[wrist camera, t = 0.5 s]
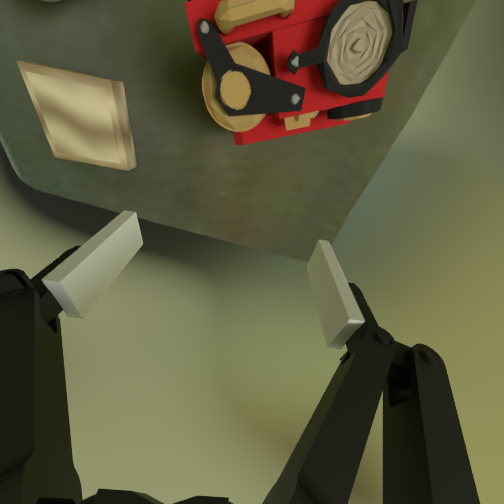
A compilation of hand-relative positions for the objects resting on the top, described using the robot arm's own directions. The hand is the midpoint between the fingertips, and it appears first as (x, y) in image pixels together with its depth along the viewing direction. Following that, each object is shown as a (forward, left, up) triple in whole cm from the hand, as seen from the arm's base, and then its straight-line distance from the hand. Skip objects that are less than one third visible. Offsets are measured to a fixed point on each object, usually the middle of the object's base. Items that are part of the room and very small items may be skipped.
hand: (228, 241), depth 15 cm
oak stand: (-1, -26, -26) cm, 36 cm away
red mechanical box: (-11, +3, -26) cm, 28 cm away
